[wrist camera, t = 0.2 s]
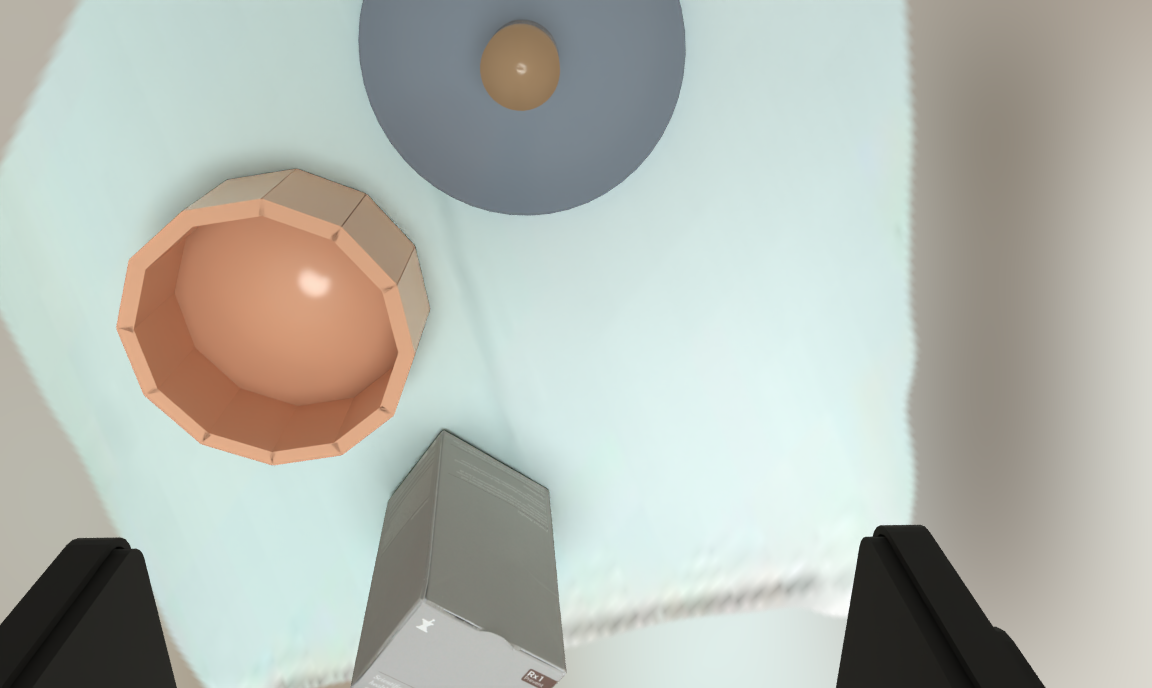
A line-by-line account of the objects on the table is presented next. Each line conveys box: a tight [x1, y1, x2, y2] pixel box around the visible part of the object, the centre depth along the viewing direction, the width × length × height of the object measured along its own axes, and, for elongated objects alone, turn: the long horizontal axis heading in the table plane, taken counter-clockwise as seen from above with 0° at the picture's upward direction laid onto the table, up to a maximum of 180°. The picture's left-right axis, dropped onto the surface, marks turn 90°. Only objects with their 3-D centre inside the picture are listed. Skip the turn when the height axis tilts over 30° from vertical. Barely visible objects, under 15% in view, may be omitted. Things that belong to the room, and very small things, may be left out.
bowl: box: [116, 169, 430, 465], centre depth 45 cm, size 14×14×6 cm
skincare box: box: [351, 431, 567, 688], centre depth 46 cm, size 8×7×16 cm
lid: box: [359, 0, 685, 215], centre depth 40 cm, size 16×16×6 cm
